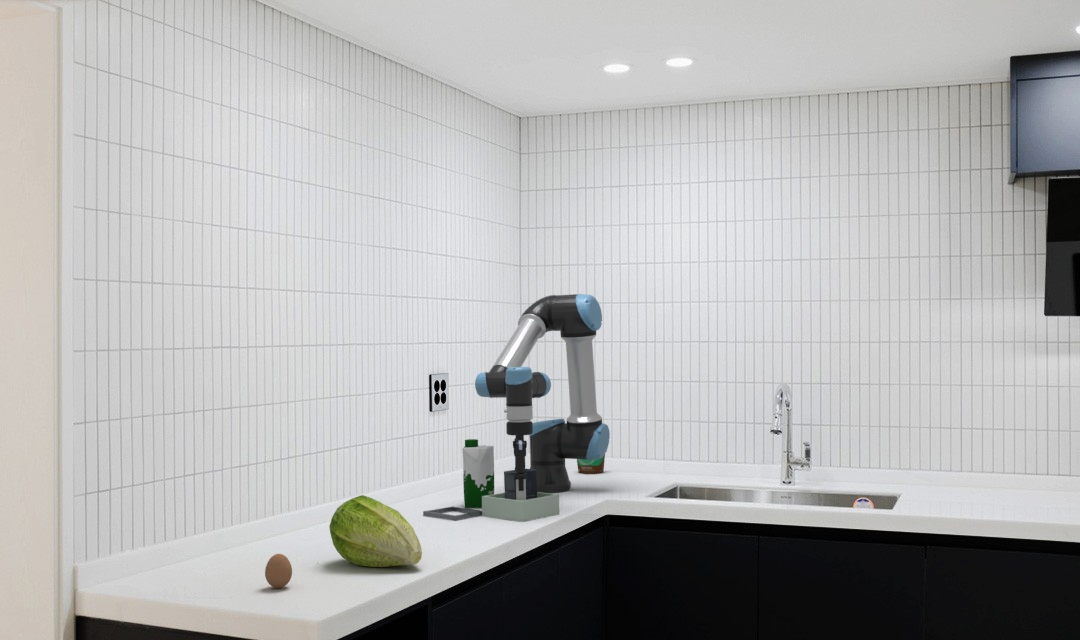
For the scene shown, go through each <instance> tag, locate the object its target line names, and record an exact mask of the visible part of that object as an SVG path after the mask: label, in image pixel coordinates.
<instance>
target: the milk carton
mask: <svg viewBox="0 0 1080 640" xmlns="http://www.w3.org/2000/svg"><path fill="white" fill-rule="evenodd" d="M461 449H462V450H461V451H462V465H463V466H462V467H463V468H462V470H463V471H462V472H463V473H462V474H463V479H462V481H463V499H464V500H463V503H464V508H468V509H482V496H487V495H492V494H495V456H494V455H495V452H494V449H495V448H494V445H485V444H484V445H483V444H482V445H481V444H480V445H479V440H478V439H477V438H475V439H473V438H469V439H465V440H464V446H463V447H462V448H461Z"/></svg>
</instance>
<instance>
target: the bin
mask: <svg viewBox="0 0 1080 640" xmlns="http://www.w3.org/2000/svg"><path fill="white" fill-rule="evenodd" d="M481 510H482V516H481V517H487V518H494V519H500V520H506V519H507V520H508V521H513V520H514V521H515V522H520V521H523V522H527V521H526V520H528V521H532V520H531V519H533V520H537V519H536V518H538V519H542V518H541V517H543V518H547V516H548V517H551V516H556V515H557V516H558V515H560V494H557V493H556V494H555V493H551V492H537V498H534V499H529V500H523V501H519V500H512V499H505V491H504V492H498V493H494V494H492V495H487V496H482V508H481ZM514 521H513V522H514Z"/></svg>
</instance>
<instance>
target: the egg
mask: <svg viewBox="0 0 1080 640" xmlns="http://www.w3.org/2000/svg"><path fill="white" fill-rule="evenodd" d="M292 575H293V567H292V564H291V562H290V560H289V559H288V557H287V556H286V555H284V554H283V553H276V554H273V555H272V556H271V557H270V558H269V560H268V561H267V563H266V565H265V569H264V577H265V579H266V581H267V583H268V584H269V585H270V586H271V587H272V588H274V589H282V588H284V587H286V586H287V585H288V584H289V582H290V581H291V579H292Z"/></svg>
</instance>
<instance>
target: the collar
mask: <svg viewBox="0 0 1080 640" xmlns="http://www.w3.org/2000/svg"><path fill="white" fill-rule="evenodd" d="M449 512H456V513H462V514H456V515H454V514H449ZM447 513H448V514H447ZM422 516H423V517H428V518H437V519H442V520H449V521H456V522H457V521H461V520H467V519H473V518H476V517H483V516H482V509H481V510H480V509H476V508H465V507H459V506H452V505H451V506H446V507H441V508H435V509H429V510H424V511H422Z"/></svg>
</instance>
